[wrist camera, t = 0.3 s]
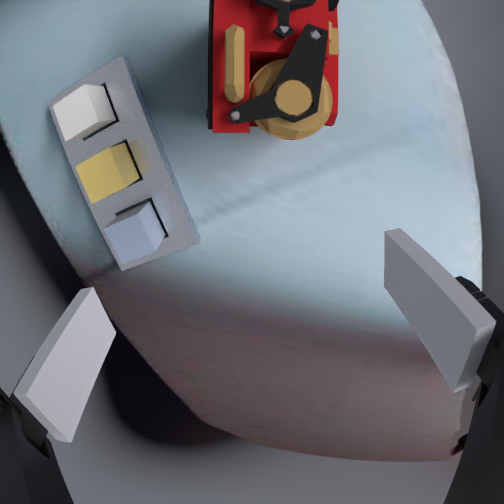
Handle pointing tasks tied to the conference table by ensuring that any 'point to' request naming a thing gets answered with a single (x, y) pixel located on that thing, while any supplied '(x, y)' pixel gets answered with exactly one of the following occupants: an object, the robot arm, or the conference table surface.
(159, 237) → the slate key
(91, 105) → the ivory key
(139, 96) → the key panel
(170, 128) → the conference table surface
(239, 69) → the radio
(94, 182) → the mustard key
